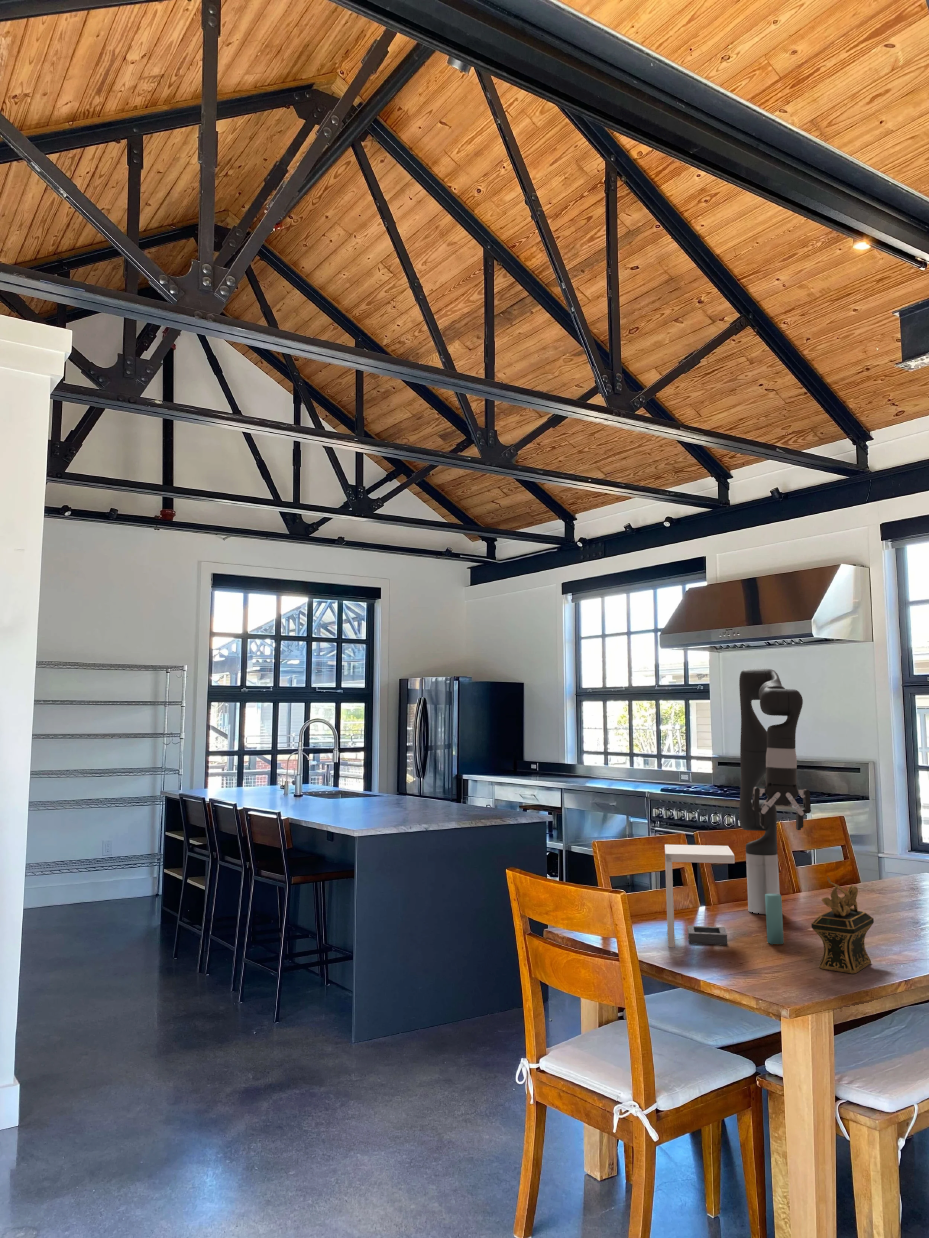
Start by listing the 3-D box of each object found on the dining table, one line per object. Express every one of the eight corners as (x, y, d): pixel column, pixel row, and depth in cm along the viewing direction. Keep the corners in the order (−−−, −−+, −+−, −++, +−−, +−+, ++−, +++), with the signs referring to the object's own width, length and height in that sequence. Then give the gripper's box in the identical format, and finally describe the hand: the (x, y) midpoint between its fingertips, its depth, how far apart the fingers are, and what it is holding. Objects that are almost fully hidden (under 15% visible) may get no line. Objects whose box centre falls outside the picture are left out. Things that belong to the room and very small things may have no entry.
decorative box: (835, 955, 214) (830, 872, 216) (877, 962, 207) (871, 875, 210) (806, 972, 198) (801, 882, 201) (851, 980, 192) (845, 886, 195)
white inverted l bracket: (738, 950, 219) (734, 855, 222) (668, 946, 223) (665, 853, 226) (731, 932, 238) (728, 845, 242) (667, 930, 242) (664, 844, 245)
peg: (766, 940, 229) (764, 893, 231) (782, 941, 228) (780, 893, 230) (768, 944, 225) (766, 895, 227) (784, 945, 224) (782, 896, 226)
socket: (687, 935, 236) (687, 925, 236) (724, 936, 234) (724, 926, 234) (689, 943, 227) (688, 933, 227) (727, 944, 225) (727, 934, 225)
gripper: (805, 765, 232) (805, 828, 230) (749, 763, 234) (749, 825, 232) (813, 767, 225) (814, 832, 223) (756, 765, 226) (756, 829, 225)
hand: (781, 829), depth 228 cm, fingers open, 8 cm apart
